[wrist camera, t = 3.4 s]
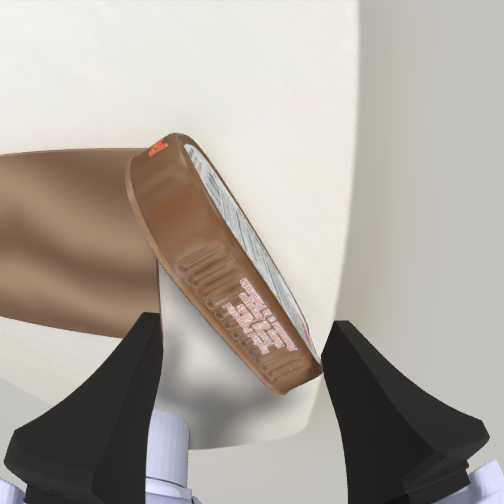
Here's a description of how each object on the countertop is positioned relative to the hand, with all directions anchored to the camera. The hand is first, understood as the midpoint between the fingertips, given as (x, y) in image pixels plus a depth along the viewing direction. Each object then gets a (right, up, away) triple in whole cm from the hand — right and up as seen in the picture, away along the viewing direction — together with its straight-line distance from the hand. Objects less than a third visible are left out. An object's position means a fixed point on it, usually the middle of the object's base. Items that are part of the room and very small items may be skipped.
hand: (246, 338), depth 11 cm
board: (-15, +3, +7) cm, 16 cm away
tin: (-1, +4, +8) cm, 9 cm away
